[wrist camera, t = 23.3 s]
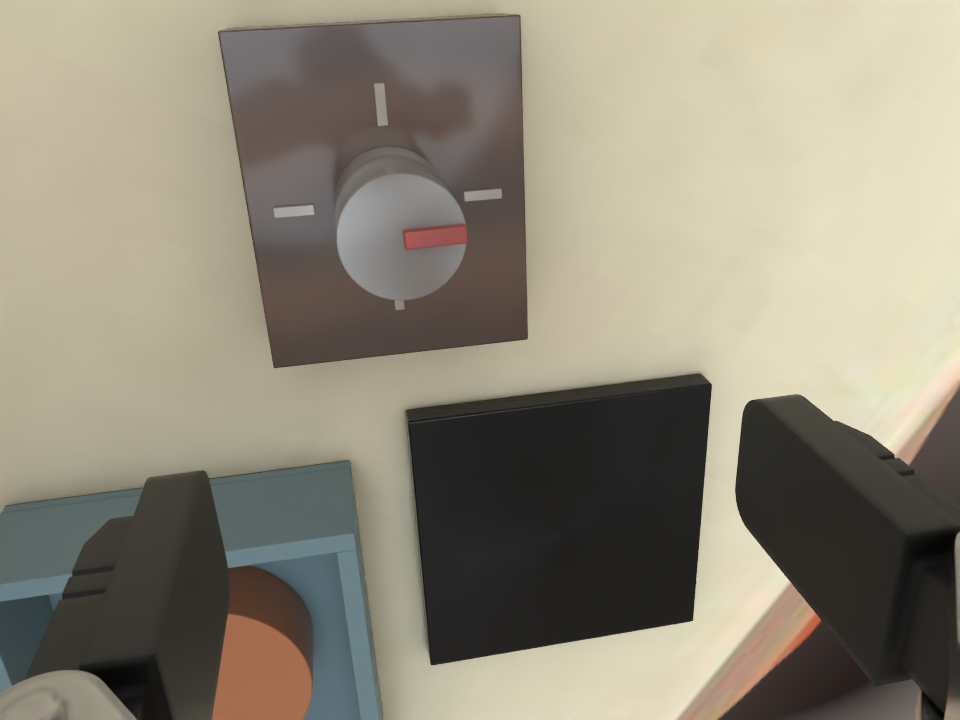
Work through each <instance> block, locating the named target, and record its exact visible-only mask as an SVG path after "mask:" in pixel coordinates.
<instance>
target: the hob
mask: <svg viewBox="0 0 960 720" xmlns="http://www.w3.org/2000/svg"><path fill="white" fill-rule="evenodd" d="M711 389H712V384H711V383H710V382H709V381H708V380H707V379H706V378H705V377H704V376H703V375H702V374H696V375H688V376H680V377H672V378H664V379H656V380H648V381H639V382H631V383H623V384H615V385H607V386H599V387H591V388H583V389H575V390H567V391H559V392H551V393H542V394H534V395H526V396H518V397H510V398H502V399H494V400H486V401H478V402H470V403H462V404H454V405H445V406H437V407H429V408H421V409H413V410H407V411H406V422H407V433H408V443H409V454H410V464H411V475H412V486H413V496H414V507H415V517H416V528H417V538H418V549H419V560H420V570H421V581H422V591H423V602H424V612H425V623H426V634H427V644H428V652H429V658H430V664H431V665H437V664H443V663H449V662H455V661H461V660H467V659H473V658H479V657H485V656H490V655H496V654H502V653H508V652H514V651H520V650H526V649H532V648H537V647H543V646H549V645H555V644H561V643H567V642H573V641H579V640H585V639H590V638H596V637H602V636H608V635H614V634H620V633H626V632H632V631H637V630H643V629H649V628H655V627H661V626H667V625H673V624H679V623H685V622H690V621H693V612H694V600H695V588H696V575H697V563H698V550H699V538H700V525H701V513H702V501H703V488H704V476H705V463H706V451H707V438H708V426H709V414H710V401H711Z"/></svg>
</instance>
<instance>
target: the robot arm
mask: <svg viewBox="0 0 960 720" xmlns="http://www.w3.org/2000/svg"><path fill="white" fill-rule="evenodd" d="M735 493H736V502H737V507H738V510H739V513H740V516H741V518H742V521H743V523H744V524H745V526H746V528H747V529H748V530H749V531H750V533H751V534H752V535H753V536H754V538H755V539H756V540H757V541H758V543H759V544H760V545H761V546H762V547H763V549H764V550H765V551H766V552H767V554H768V555H769V556H770V557H771V559H772V560H773V561H774V562H775V563H776V565H777V566H778V567H779V568H780V570H781V571H782V572H783V573H784V575H785V576H786V577H787V578H788V579H789V581H790V582H791V583H792V584H793V586H794V587H795V588H796V589H797V591H798V592H799V593H800V594H801V595H802V597H803V598H804V599H805V600H806V602H807V603H808V604H809V605H810V607H811V608H812V609H813V610H814V611H815V613H816V614H817V615H818V616H819V618H820V619H821V620H822V621H823V623H824V624H825V625H826V626H827V627H828V629H829V630H830V631H831V632H832V634H833V635H834V636H835V637H836V638H837V640H838V641H839V642H840V643H841V645H842V646H843V647H844V648H845V650H846V651H847V652H848V653H849V654H850V656H851V657H852V658H853V659H854V661H855V662H856V663H857V664H858V666H859V667H860V668H861V669H862V671H863V672H864V673H865V674H866V675H867V677H868V678H869V679H870V680H871V682H872V683H873V684H874V685H875V686H878V685H883V684H888V683H893V682H899V681H905V680H910V679H913V680H914V681H915V682H916V684H917V685H918V686H919V687H920V690H919V694H918V699H917V703H916V708H915V720H960V506H959V505H958V504H957V503H955V502H954V501H953V500H952V499H950V498H949V497H948V496H946V495H945V494H944V493H943V492H941V491H940V490H939V489H937V488H936V487H935V486H934V485H932V484H931V483H930V482H929V481H927V480H926V479H925V478H924V477H922V476H921V475H920V474H915V473H914V470H913V469H912V468H911V467H910V466H908V465H907V464H906V463H905V462H903V461H902V460H901V459H900V458H896V459H895V457H894V454H893V453H892V452H891V451H889V450H888V449H887V448H886V447H884V446H883V445H882V444H880V443H879V442H878V441H877V440H875V439H874V438H873V437H872V436H870V435H868V434H866V433H863V432H861V431H859V430H857V429H854V428H852V427H850V426H848V425H845V424H843V423H841V422H838V421H833V420H832V419H831V418H829V417H828V416H827V415H826V414H824V413H823V412H822V411H821V410H820V409H818V408H817V407H816V406H815V405H813V404H812V403H811V402H810V401H808V400H807V399H806V398H805V397H803V396H801V395H798V394H795V395H787V396H780V397H772V398H764V399H757V400H751V401H749V402H748V403H747V404H746V406H745V408H744V411H743V416H742V425H741V435H740V445H739V456H738V466H737V476H736V487H735ZM229 601H230V583H229V571H228V564H227V559H226V554H225V549H224V545H223V540H222V535H221V531H220V526H219V521H218V517H217V512H216V508H215V503H214V498H213V494H212V489H211V485H210V481H209V478H208V476H207V474H206V472H205V471H203V470H202V471H194V472H187V473H179V474H171V475H164V476H156V477H150V478H148V479H147V480H146V483H145V485H144V488H143V491H142V493H141V496H140V499H139V502H138V504H137V507H136V510H135V512H134V515H133V516H126V517H119V518H112V519H109V520H108V521H107V522H106V523H105V524H104V525H103V526H102V527H101V528H100V529H99V530H98V531H97V532H96V533H95V534H94V535H93V536H92V537H91V538H90V539H89V540H88V541H87V542H86V543H84V545H83V547H82V549H81V552H80V554H79V556H78V558H77V561H76V563H75V565H74V568H73V570H72V577H69V579H68V581H67V584H66V586H65V588H64V590H63V593H62V600H59V602H58V604H57V606H56V609H55V611H54V613H53V616H52V618H51V620H50V622H49V625H48V627H47V629H46V632H45V634H44V636H43V638H42V641H41V643H40V645H39V648H38V650H37V652H36V654H35V657H34V659H33V661H32V664H31V666H30V668H29V670H28V673H27V675H26V677H25V680H24V681H21V682H19V683H17V684H15V685H13V686H11V687H9V688H7V689H6V690H4V691H3V692H1V693H0V720H212V716H213V709H214V703H215V696H216V690H217V683H218V676H219V670H220V663H221V657H222V650H223V643H224V637H225V630H226V624H227V617H228V610H229Z"/></svg>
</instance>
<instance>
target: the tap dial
mask: <svg viewBox="0 0 960 720" xmlns="http://www.w3.org/2000/svg"><path fill="white" fill-rule="evenodd" d="M334 214H335V229H336V244H337V250H338V254H339V257H340V260H341V263H342V264H343V266H344V268H345V270H346V271H347V273H348V274H349V276H350V277H351V278H352V279H353V280H354V281H355V282H356V283H357V284H358V285H359V286H360V287H362V288H363V289H365V290H366V291H368V292H369V293H372V294H374V295H376V296H379V297H382V298H385V299H390V300H412V299H417V298H420V297H423V296H426V295H428V294H430V293H433V292H434V291H436V290H437V289H439V288H440V287H442V286H443V285H444V284H445V283H447V282H448V280H449V279H450V278H451V277H452V276H453V275H454V273H455V272H456V271H457V269H458V267H459V266H460V264H461V261H462V259H463V257H464V253H465V249H466V243H468V237H467V226H466V222H465V219H464V215H463V213H462V211H461V208H460V206H459V205H458V203H457V201H456V200H455V198H454V197H453V195H452V194H451V192H450V191H449V190H448V188H447V187H446V185H445V184H444V182H443V181H442V179H441V178H440V176H439V175H438V174H437V172H436V171H435V169H434V168H433V167H432V166H431V164H430V163H429V162H428V161H427V160H425V159H424V158H423V157H421V156H420V155H419V154H417V153H415V152H413V151H411V150H408V149H405V148H401V147H394V146H383V147H377V148H373V149H370V150H368V151H365V152H363V153H361V154H360V155H358V156H357V157H355V158H354V159H353V160H352V161H351V162H350V163H349V164H348V165H347V166H346V167H345V169H344V170H343V171H342V173H341V175H340V177H339V179H338V181H337V184H336V187H335V192H334Z"/></svg>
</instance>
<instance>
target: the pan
mask: <svg viewBox="0 0 960 720" xmlns="http://www.w3.org/2000/svg"><path fill="white" fill-rule="evenodd" d="M228 571H229V583H230V601H229V610H228V617H227V624H226V630H225V637H224V643H223V650H222V657H221V663H220V670H219V676H218V683H217V690H216V696H215V703H214V709H213V716H212V720H303V718H304V717H305V715H306V712H307V710H308V708H309V705H310V702H311V698H312V690H313V624H312V620H311V616H310V613H309V611H308V609H307V607H306V605H305V603H304V602H303V600H302V599H301V597H300V596H299V595H298V594H297V593H296V592H295V590H294V589H293V588H291V587H290V586H289V585H288V584H287V583H286V582H284V581H283V580H281V579H280V578H278V577H277V576H275V575H273V574H271V573H269V572H267V571H265V570H262V569H259V568H256V567H253V566H250V565H247V566H240V567H233V568H228Z"/></svg>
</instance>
